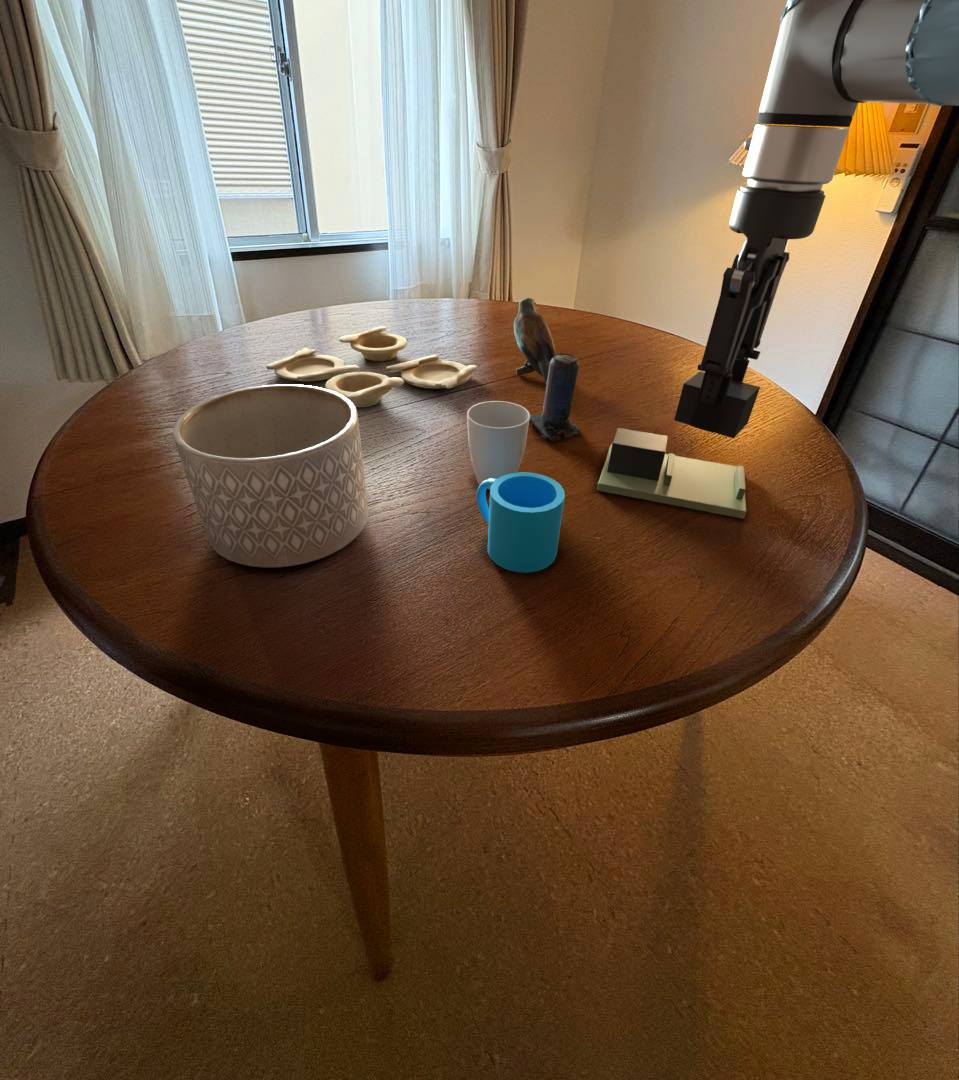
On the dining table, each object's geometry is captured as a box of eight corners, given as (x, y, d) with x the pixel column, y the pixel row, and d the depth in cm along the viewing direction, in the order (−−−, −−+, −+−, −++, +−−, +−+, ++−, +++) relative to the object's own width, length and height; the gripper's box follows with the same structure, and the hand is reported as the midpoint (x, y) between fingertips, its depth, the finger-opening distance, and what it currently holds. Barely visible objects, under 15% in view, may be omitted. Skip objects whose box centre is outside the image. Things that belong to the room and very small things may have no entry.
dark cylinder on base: (587, 434, 90) (599, 360, 83) (549, 445, 87) (557, 369, 80) (552, 413, 96) (561, 342, 89) (516, 422, 93) (521, 350, 86)
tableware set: (491, 381, 107) (492, 360, 104) (368, 429, 89) (365, 405, 87) (376, 337, 125) (375, 318, 123) (256, 370, 108) (251, 348, 106)
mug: (571, 552, 66) (580, 494, 61) (521, 582, 61) (527, 522, 56) (501, 508, 73) (504, 452, 68) (452, 532, 68) (452, 474, 63)
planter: (400, 531, 68) (392, 422, 59) (254, 602, 58) (218, 483, 49) (319, 472, 79) (302, 372, 70) (184, 523, 68) (144, 413, 60)
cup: (535, 487, 77) (542, 419, 71) (484, 502, 74) (487, 433, 68) (504, 461, 83) (508, 396, 76) (455, 474, 79) (455, 408, 73)
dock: (740, 474, 81) (753, 439, 78) (743, 519, 72) (758, 481, 69) (609, 451, 86) (615, 416, 82) (596, 490, 77) (603, 453, 73)
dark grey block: (747, 423, 65) (760, 386, 63) (733, 438, 62) (746, 400, 60) (689, 406, 69) (699, 371, 66) (673, 420, 66) (683, 383, 63)
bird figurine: (585, 392, 102) (576, 277, 99) (533, 396, 100) (522, 279, 97) (561, 402, 115) (552, 301, 112) (514, 406, 113) (504, 304, 111)
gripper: (768, 175, 59) (707, 388, 73) (707, 187, 47) (649, 437, 61) (847, 182, 55) (766, 404, 69) (802, 197, 44) (716, 459, 58)
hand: (711, 419), depth 65 cm, fingers closed on dark grey block, 5 cm apart
